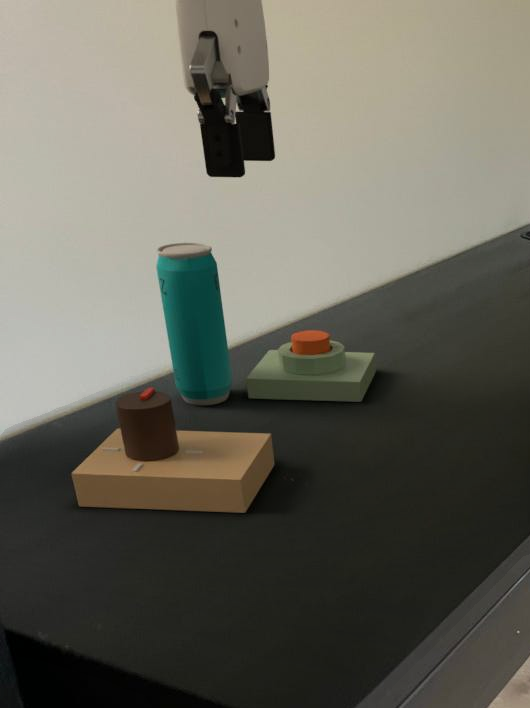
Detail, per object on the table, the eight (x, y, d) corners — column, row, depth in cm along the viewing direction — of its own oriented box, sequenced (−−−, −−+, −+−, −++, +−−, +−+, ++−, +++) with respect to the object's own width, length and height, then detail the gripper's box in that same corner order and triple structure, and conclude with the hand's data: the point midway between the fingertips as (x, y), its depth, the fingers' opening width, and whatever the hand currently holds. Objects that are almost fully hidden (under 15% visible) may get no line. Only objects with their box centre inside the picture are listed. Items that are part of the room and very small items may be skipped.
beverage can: (231, 387, 107) (211, 240, 99) (237, 404, 102) (217, 252, 94) (176, 392, 105) (152, 243, 97) (180, 410, 101) (155, 256, 93)
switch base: (248, 398, 104) (243, 361, 102) (271, 368, 112) (267, 333, 110) (361, 402, 103) (358, 364, 101) (376, 372, 112) (374, 336, 109)
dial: (169, 462, 82) (159, 406, 79) (117, 460, 82) (106, 404, 80) (185, 442, 86) (177, 388, 83) (136, 440, 86) (125, 386, 83)
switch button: (289, 357, 104) (287, 340, 103) (297, 345, 108) (295, 329, 107) (326, 358, 104) (325, 341, 103) (333, 346, 107) (332, 330, 106)
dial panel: (78, 506, 82) (70, 471, 80) (123, 459, 90) (116, 426, 88) (245, 513, 81) (240, 477, 79) (274, 464, 89) (271, 431, 88)
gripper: (203, -63, 86) (230, 154, 95) (127, -75, 71) (167, 183, 81) (288, -64, 85) (307, 155, 95) (228, -75, 71) (257, 184, 80)
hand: (243, 168), depth 88 cm, fingers open, 9 cm apart
